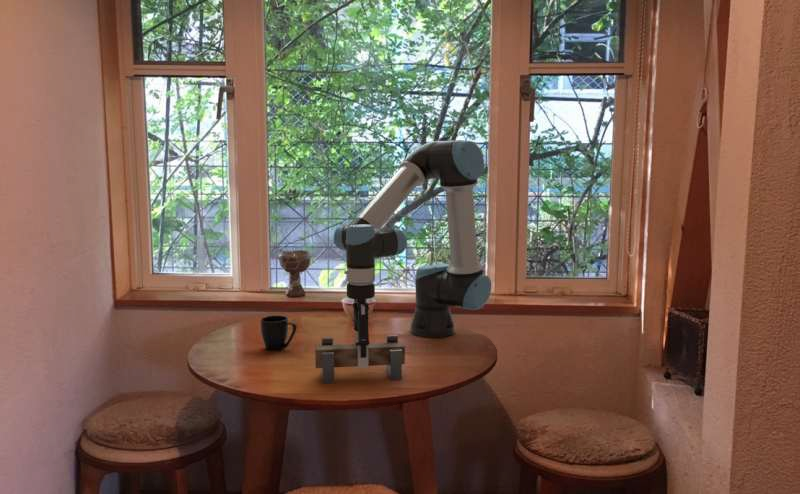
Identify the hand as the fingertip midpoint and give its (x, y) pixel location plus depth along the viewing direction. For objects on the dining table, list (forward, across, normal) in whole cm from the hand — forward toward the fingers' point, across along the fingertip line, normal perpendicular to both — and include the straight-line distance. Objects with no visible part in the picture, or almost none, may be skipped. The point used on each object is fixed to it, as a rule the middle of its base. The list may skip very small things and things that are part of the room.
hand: (361, 361), depth 170 cm
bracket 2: (+4, 0, +9) cm, 10 cm away
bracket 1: (+4, 0, -9) cm, 10 cm away
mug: (+4, -28, -23) cm, 37 cm away
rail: (+1, 0, 0) cm, 1 cm away
